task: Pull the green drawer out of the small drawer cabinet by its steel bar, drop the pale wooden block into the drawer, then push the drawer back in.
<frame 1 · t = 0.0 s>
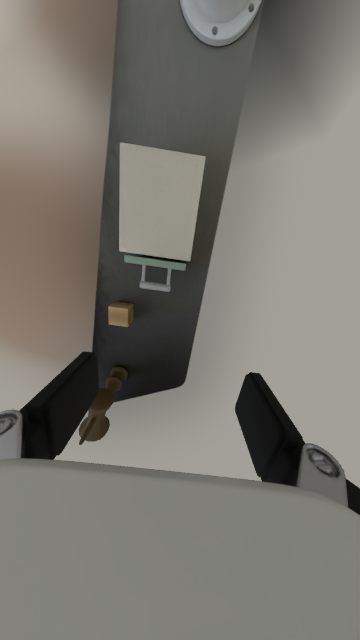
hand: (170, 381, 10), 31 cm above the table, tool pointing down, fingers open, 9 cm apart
block: (124, 311, 42), on the table
small drawer cabinet: (164, 220, 35), on the table
green drawer: (159, 242, 32), point 5 cm above the table, slide at 0.5 cm
kendama: (120, 372, 48), on the table
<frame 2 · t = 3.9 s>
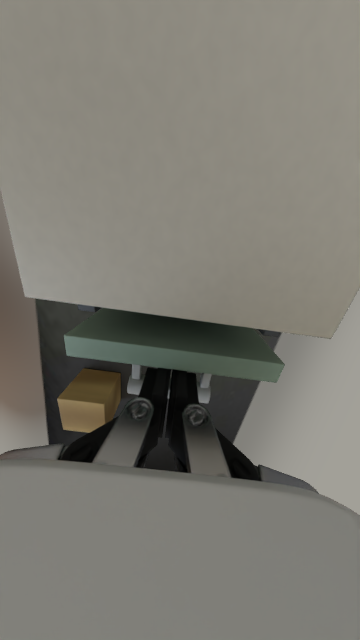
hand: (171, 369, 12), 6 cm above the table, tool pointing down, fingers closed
block: (102, 384, 20), on the table
small drawer cabinet: (196, 186, 13), on the table
green drawer: (185, 277, 11), point 5 cm above the table, slide at 2.0 cm, touching gripper
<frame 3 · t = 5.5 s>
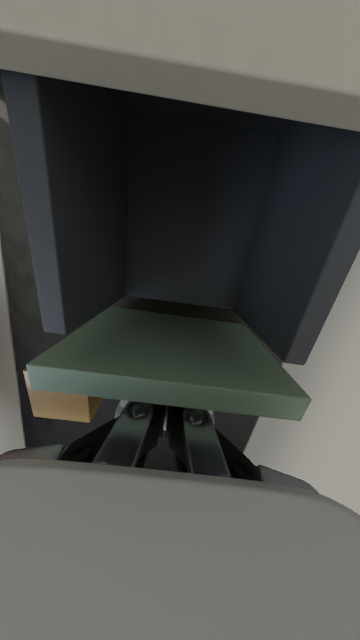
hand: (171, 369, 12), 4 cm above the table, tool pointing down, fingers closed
block: (89, 363, 16), on the table
small drawer cabinet: (212, 68, 9), on the table
green drawer: (183, 287, 9), point 5 cm above the table, slide at 7.4 cm, touching gripper
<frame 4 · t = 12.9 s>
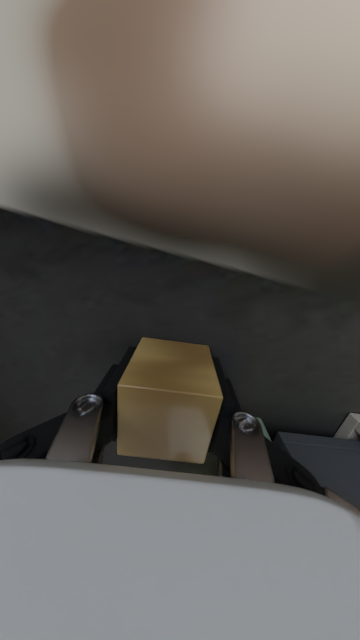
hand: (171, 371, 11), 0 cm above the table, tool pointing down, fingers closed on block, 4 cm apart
block: (171, 368, 12), on the table, touching gripper
green drawer: (308, 544, 10), point 5 cm above the table, slide at 7.2 cm
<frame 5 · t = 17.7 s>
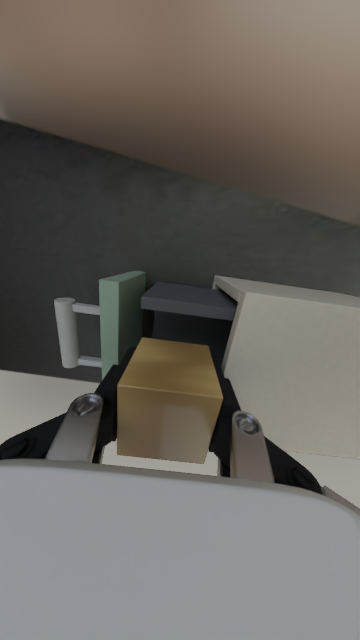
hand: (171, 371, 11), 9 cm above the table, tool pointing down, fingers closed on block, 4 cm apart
block: (171, 368, 12), point 9 cm above the table, touching gripper
small drawer cabinet: (261, 333, 20), on the table
green drawer: (165, 340, 15), point 5 cm above the table, slide at 7.2 cm
when the fingers open (11 cm above the table, at t = 26.9 s): block drops 9 cm, resting on green drawer.
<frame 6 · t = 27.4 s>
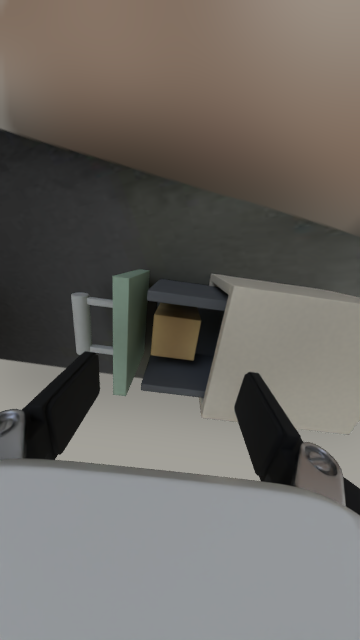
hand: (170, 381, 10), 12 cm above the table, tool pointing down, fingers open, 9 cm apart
block: (176, 322, 20), point 2 cm above the table, touching green drawer
small drawer cabinet: (253, 327, 22), on the table
green drawer: (167, 330, 17), point 5 cm above the table, slide at 7.2 cm, touching block
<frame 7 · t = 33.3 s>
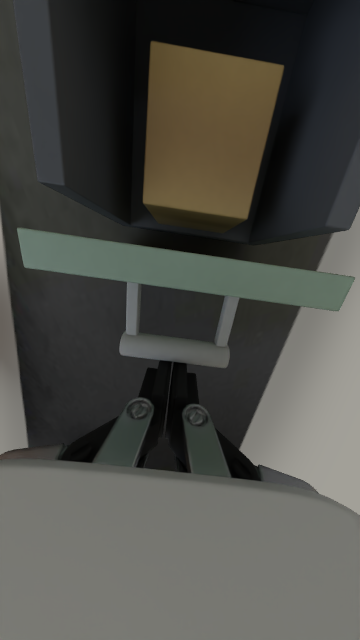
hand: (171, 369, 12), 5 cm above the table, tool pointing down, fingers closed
block: (196, 188, 10), point 2 cm above the table, touching green drawer
green drawer: (197, 188, 8), point 5 cm above the table, slide at 6.7 cm, touching block, gripper
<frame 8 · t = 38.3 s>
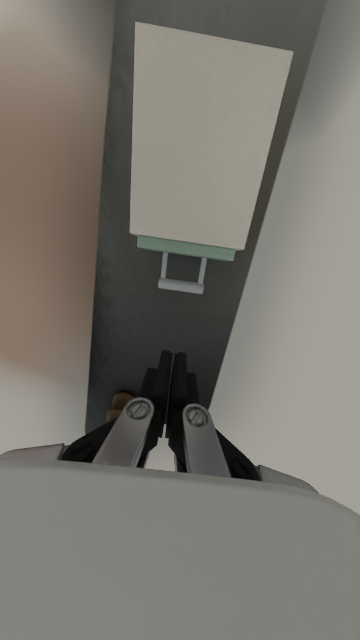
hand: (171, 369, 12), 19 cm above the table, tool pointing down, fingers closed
small drawer cabinet: (193, 194, 24), on the table
green drawer: (190, 219, 21), point 5 cm above the table, slide at 0.0 cm, touching block, small drawer cabinet
kendama: (125, 398, 38), on the table
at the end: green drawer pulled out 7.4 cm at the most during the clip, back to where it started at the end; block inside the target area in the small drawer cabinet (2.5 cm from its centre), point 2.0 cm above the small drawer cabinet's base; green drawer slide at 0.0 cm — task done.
